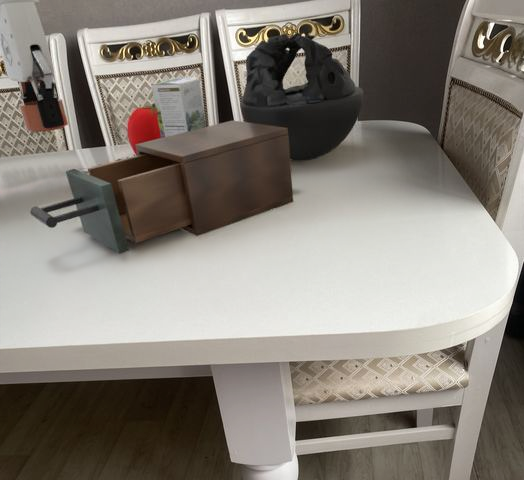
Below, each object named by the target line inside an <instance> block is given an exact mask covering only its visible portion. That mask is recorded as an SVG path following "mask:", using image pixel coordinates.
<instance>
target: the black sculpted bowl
mask: <svg viewBox="0 0 524 480" xmlns="http://www.w3.org/2000/svg"><path fill="white" fill-rule="evenodd" d="M314 38H315V35H309V34H308V35H305V36H304V35H302V33H301V32H296V33H294V34H293V35H291V36H288V34H287V33H282V34H280V35H275V36H270V37H268V38H267V42H266V41H265V40H261V41H260V42H259V43H258V44H257V45H256V47H255V48H254V49H253V50H251V52H250V53H249V54H248V55H247V56H246V59H245V69H246V80H245V81H246V83H245V87H244V91H243V95H242V96H241V99H242V101H240V104H239V107H240V112H241V115H242V119H243V122H247V123H255V124H262V125H270V126H277V127H284V128H288V138H289V151H290V161H294V162H299V161H301V162H303V161H310V160H315V159H317V158H320V157H323V156H325V155H327V154H329V153H330V152H332V151H333V150H335V149H336V148H338V146H340V145H341V144H342V143H343V142H344V140H345V139H347V137H348V136H349V134H350V133H351V132H352V130H353V128H354V127H355V125H356V123H357V120H358V119H359V116H360V113H361V109H362V105H363V99H364V90H363V88H362V87H359V86H356V83H355V82H354V80H353V79H352V78H351V76H350V74H349V73H348V71H347V69H345V67H344V65H343V64H342V62H340V61H339V59H337V58H333V52H332V51H331V49H329V47H327V46H326V45H324V44H321V43H319V42H317V41H316V40H314ZM301 49H302V51H303V53H304V64H303V65H304V70H305V78H306V81H307V82H306V83H304V84H301V85H300V84H299V85H294V86H290V87H287V88H284V78H285V76H286V74H287V73H288V71H289V69H290V68H291V66H292V64H293V62H294V61H295V60H296V58H297V56H298V52H299V51H300V50H301Z"/></svg>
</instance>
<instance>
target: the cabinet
mask: <svg viewBox="0 0 524 480" xmlns="http://www.w3.org/2000/svg"><path fill="white" fill-rule="evenodd" d="M135 146H136V150H137V155H142V154H145V153H147V154H151V155H155V156H158V157H162V158H166V159H169V160H173V161H177V162H181V168H182V174H183V179H184V184H185V189H186V195H187V200H188V205H189V211H190V216H191V221H192V224H191V225H188V226H185V227H182V228H179V229H181V230H183V231H184V232H187V233H189V234H192V235H193V236H195V237H199V236H202V235H205V234H207V233H210V232H213V231H216V230H219V229H222V228H225V227H227V226H229V225H232V224H235V223H239V222H241V221H243V220H247V219H249V218H252V217H255V216H258V215H261V214H263V213H266V212H269V211H272V210H274V208H275V209H277V208H280V207H283V206H286V205H289V204H292V203H293V202H294V193H293V178H292V165H291V160H290V151H289V138H288V128H284V127H277V126H270V125H262V124H255V123H247V122H245V121H239V120H234V119H233V120H229V121H225V122H220V123H217V124H213V125H210V126H209V125H208V126H206V127H204V128H200V129H196V130H192V131H188V132H184V133H180V134H176V135H172V136H168V137H164V138H160V139H156V140H152V141H148V142H144V143H140V144H136V145H135ZM288 203H289V204H288ZM285 204H286V205H285ZM271 209H272V210H271Z"/></svg>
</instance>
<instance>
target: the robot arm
mask: <svg viewBox="0 0 524 480" xmlns="http://www.w3.org/2000/svg"><path fill="white" fill-rule="evenodd" d="M39 3H40V0H0V54H1V58H2V61H3V66H4V69H5V72H6V75H7V77H8V79H9V80H11V81H12V82H17V84H18V87H19V92H20V95H21V97H22V99H21V100H22V101H23V102H22V103H26V102H31V101H36V103H37V106H38V110H39V113H40V117H41V120H42V124H43V127H44V128H53V127H58V126H63V125H64V120H63V117H62V113H61V109H60V105H59V102H58V99H59V98H58V94H57V91H56V88H55V86H56V85H55V82H54V81H53V80H54V78H53V77H54V75H55V69H54V64H53V60H52V59H53V58H52V55H51V51H50V49H49V48H50V47H49V44H48V41H47V37H46V33H45V31H44V27H43V25H42V22H41V18H40V14H39V12H38V9H37V6H36V4H39Z"/></svg>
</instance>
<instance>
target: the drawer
mask: <svg viewBox="0 0 524 480" xmlns="http://www.w3.org/2000/svg"><path fill="white" fill-rule="evenodd" d="M87 172H88V173H87ZM87 172H83V171H82V170H78V169H76V168H72V169H68V170H65V174H66V178H67V181H68V184H69V188H70V190H71V194H72V197H73V198H70V199H67V200H64V201H60V202H57V203H52V204H49V205H46V206H43V207H39V206H32V207H31V208H30V210H29V212H30V213H29V214H30V215H31V216H32V217H34V218H35V219H36V220H37V221H39V222H40V223H42V224H44V225H45V226H47V227H48V228H50V229H54V228H56V227H57V225H58V223H63V222H66V221H69V220H72V219H76V218H79V220H80V223H81V227H82V230H83V232H84V233H85V234H86V235H88V236H90V237H92V238H93V239H95V240H97V241H98V242H100V243H101V244H103V245H105V246H106V247H108V248H110V249H111V250H112V251H114V252H116V253H118V254H119V255H121V254H123V253H126V252H129V251H130V250H129V246H128V242H127V239H128V240H130V241H131V242H133V243H135V244H139V243H141V242H144V241H147V240H150V239H153V238H155V237H158V236H161V235H164V234H167V233H170V232H173V231H177V230H179V229H180V228H182V227H185V226H188V225H191V224H192V221H191V216H190V211H189V205H188V200H187V195H186V189H185V184H184V179H183V174H182V168H181V162H177V161H173V160H169V159H166V158H162V157H158V156H155V155H151V154H147V153H145V154H142V155H138V156H136V155H134V156H130V157H126V158H122V159H119V160H115V161H110V162H107V163H103V164H99V165H96V166H93V167H87ZM71 206H76V209H75V210H71V211H69V212H65V213H61V214H59V215H55V216H53V215H51V214H50V213H51V212H54V211H55V212H56V211H58V210H61V209H65V208H69V207H71Z"/></svg>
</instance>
